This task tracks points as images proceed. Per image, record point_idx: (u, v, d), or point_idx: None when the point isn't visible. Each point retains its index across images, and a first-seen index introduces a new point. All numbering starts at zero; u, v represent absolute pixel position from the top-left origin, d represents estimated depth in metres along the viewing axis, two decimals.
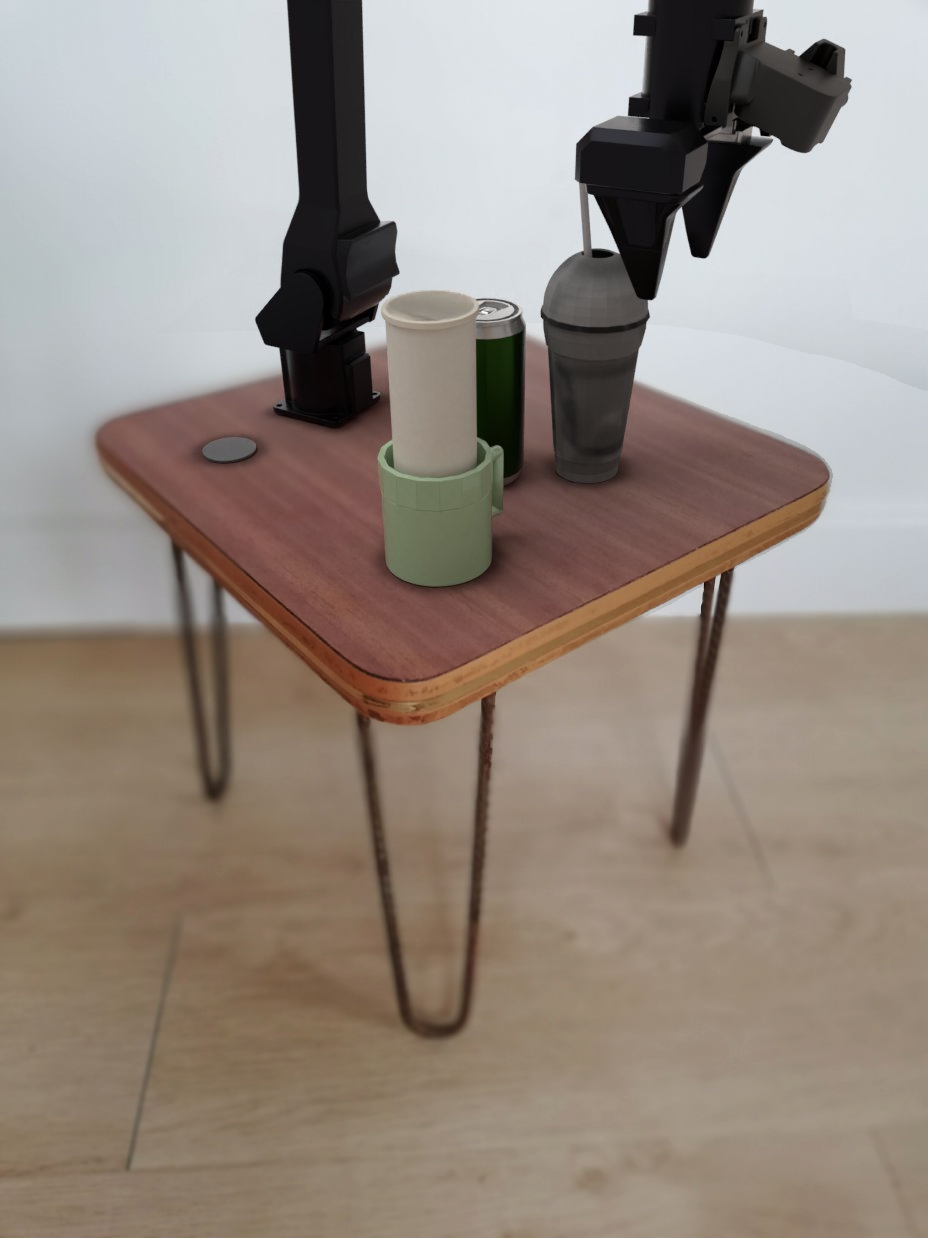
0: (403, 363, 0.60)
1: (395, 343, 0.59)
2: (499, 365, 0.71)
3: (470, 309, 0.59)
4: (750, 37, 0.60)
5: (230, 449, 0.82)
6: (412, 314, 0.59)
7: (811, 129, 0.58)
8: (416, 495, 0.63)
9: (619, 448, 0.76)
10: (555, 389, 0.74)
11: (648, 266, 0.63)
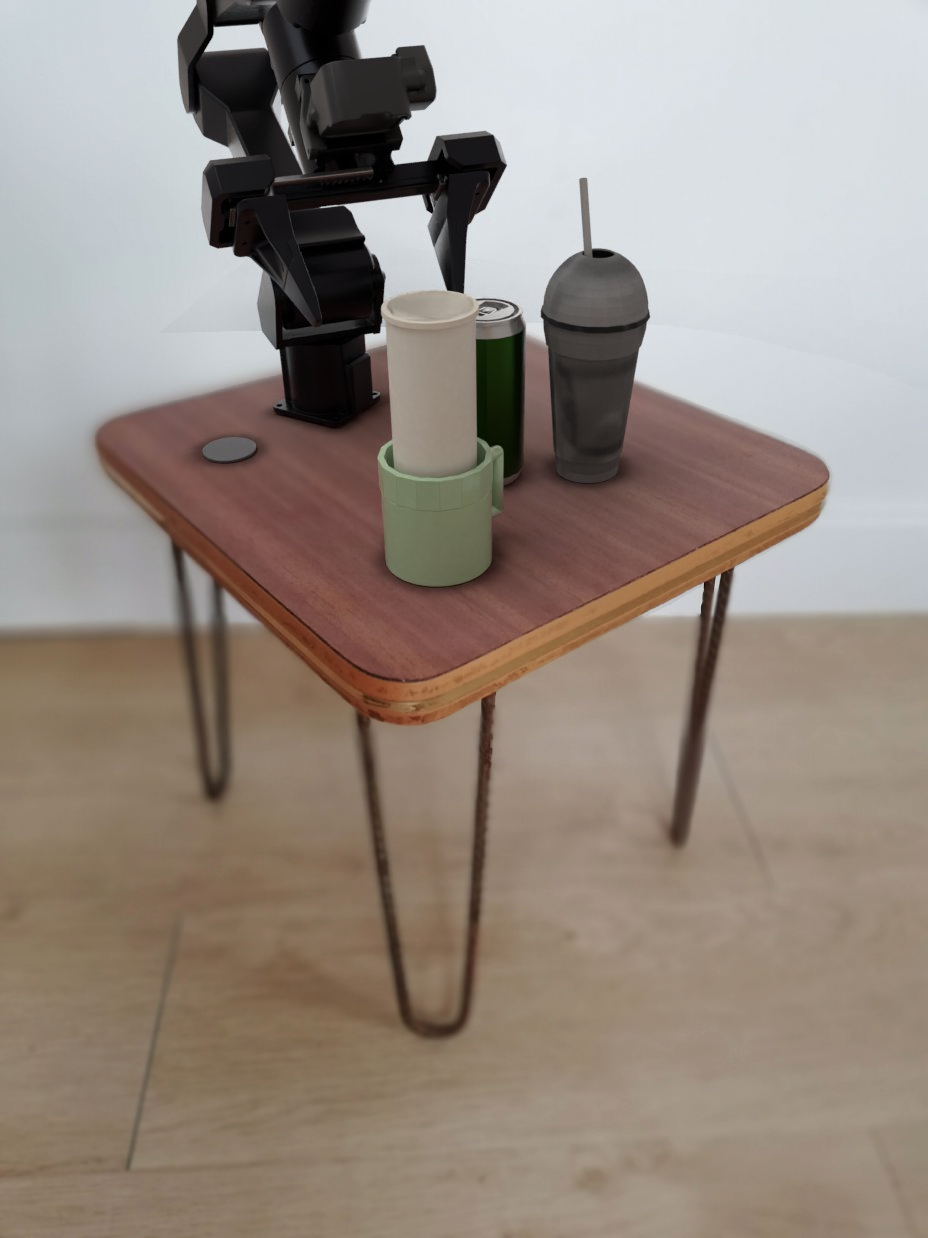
0: (403, 363, 0.60)
1: (395, 343, 0.59)
2: (499, 365, 0.71)
3: (470, 309, 0.59)
4: None
5: (230, 449, 0.82)
6: (412, 314, 0.59)
7: (334, 97, 0.60)
8: (416, 495, 0.63)
9: (619, 448, 0.76)
10: (555, 389, 0.74)
11: (296, 291, 0.66)
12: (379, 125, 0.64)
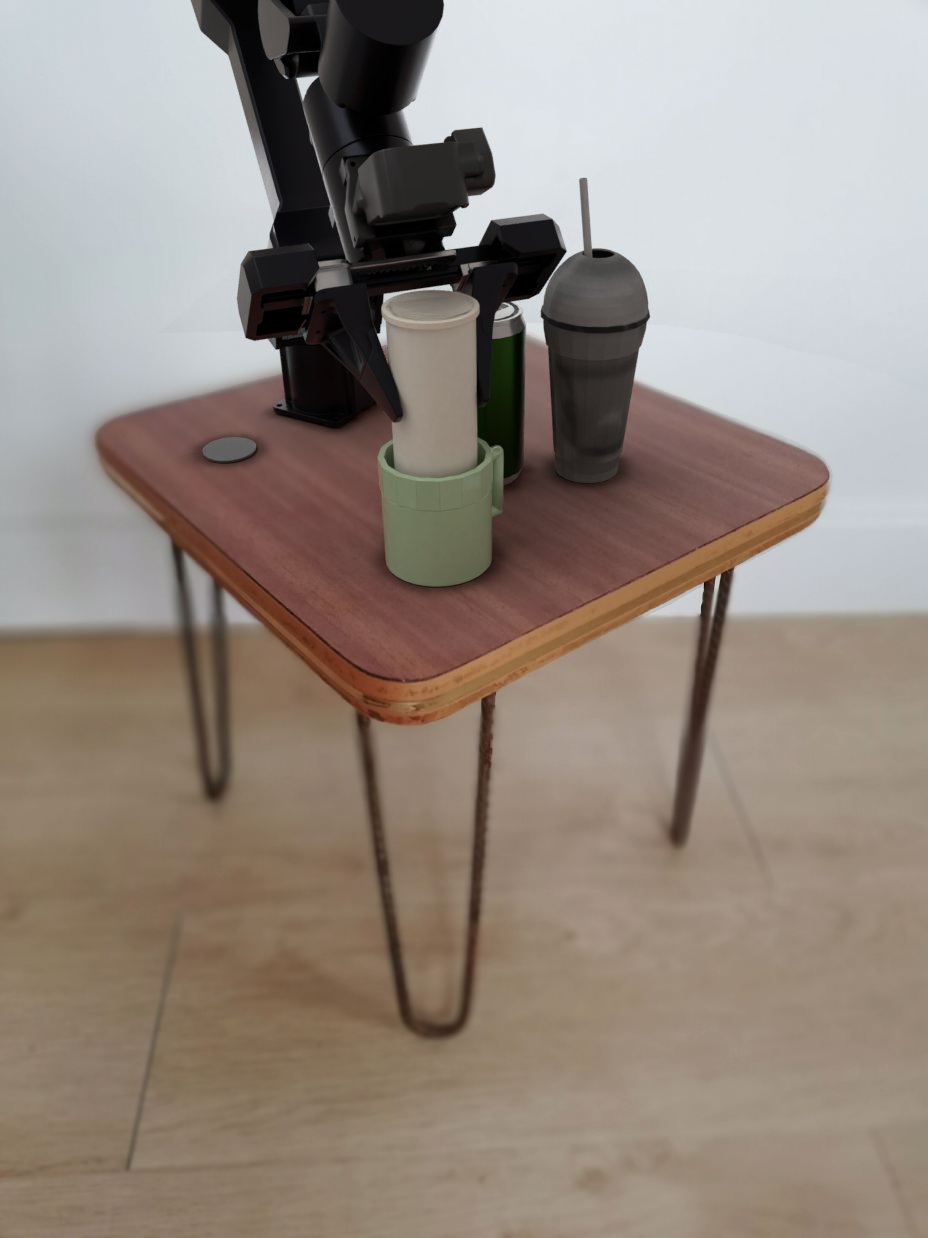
0: (404, 363, 0.60)
1: (396, 342, 0.59)
2: (499, 365, 0.71)
3: (470, 309, 0.59)
4: None
5: (230, 449, 0.82)
6: (413, 314, 0.59)
7: (386, 187, 0.55)
8: (416, 495, 0.63)
9: (619, 448, 0.76)
10: (555, 389, 0.74)
11: (375, 384, 0.61)
12: (432, 212, 0.59)
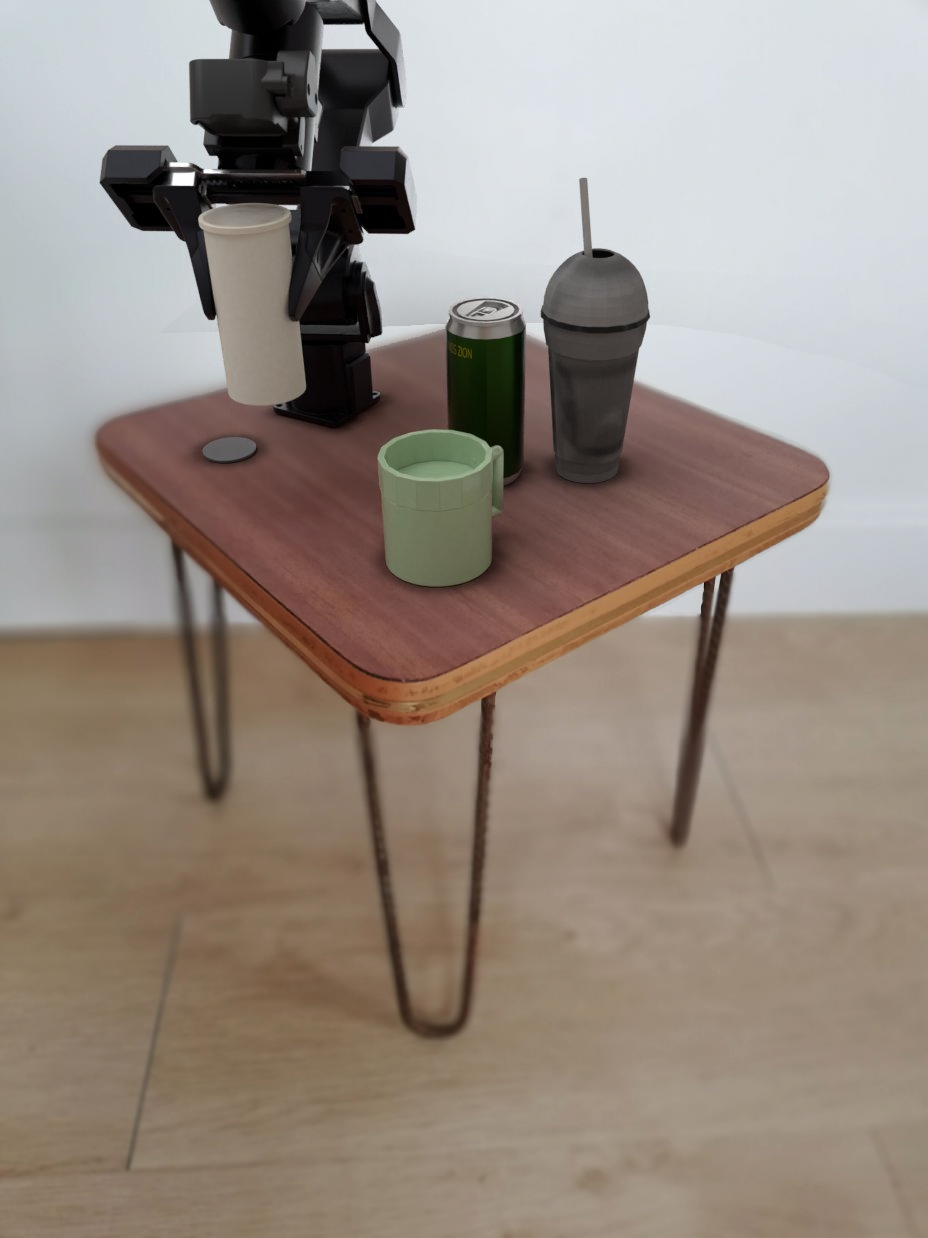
0: (209, 264, 0.65)
1: (205, 243, 0.64)
2: (499, 365, 0.71)
3: (268, 222, 0.63)
4: None
5: (230, 449, 0.82)
6: (217, 219, 0.63)
7: (191, 95, 0.60)
8: (416, 495, 0.63)
9: (619, 448, 0.76)
10: (555, 389, 0.74)
11: None
12: (263, 128, 0.63)
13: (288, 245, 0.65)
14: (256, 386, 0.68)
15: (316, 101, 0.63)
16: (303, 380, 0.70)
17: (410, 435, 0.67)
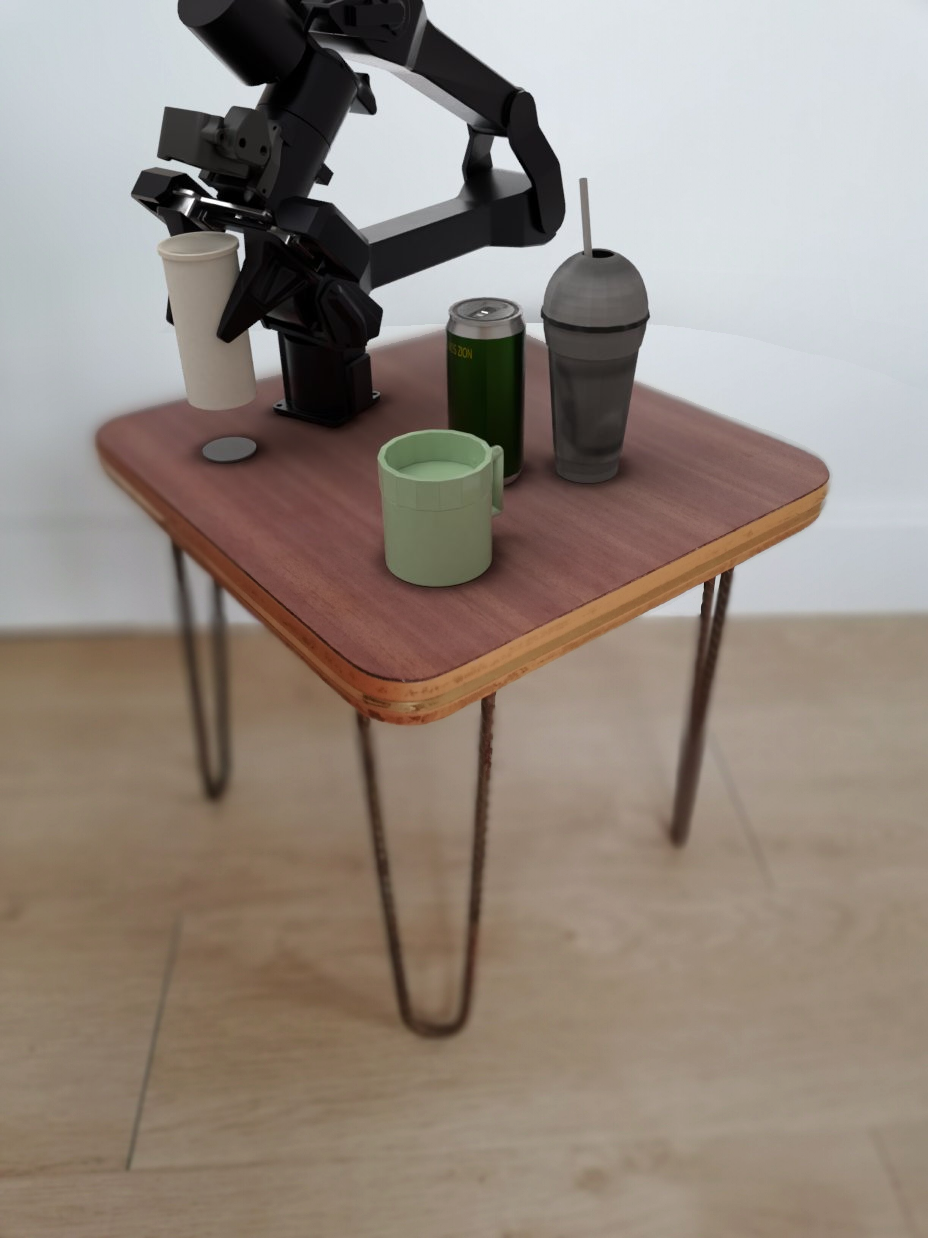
0: None
1: None
2: (499, 365, 0.71)
3: (198, 253, 0.71)
4: None
5: (230, 449, 0.82)
6: (174, 242, 0.73)
7: (160, 136, 0.70)
8: (416, 495, 0.63)
9: (619, 448, 0.76)
10: (555, 389, 0.74)
11: None
12: None
13: (224, 275, 0.72)
14: (194, 390, 0.77)
15: (266, 153, 0.69)
16: (243, 395, 0.77)
17: (410, 435, 0.67)
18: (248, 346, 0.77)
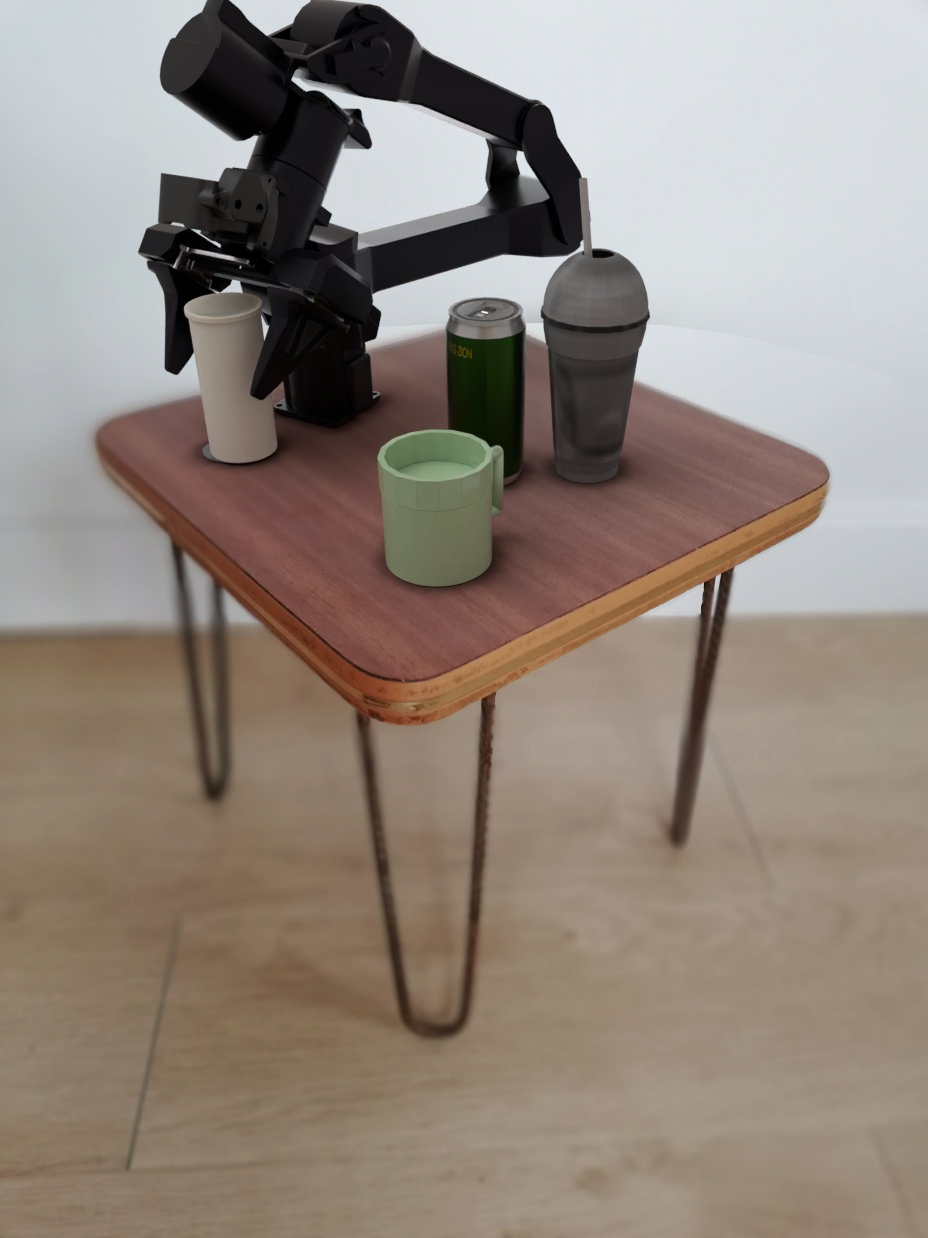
0: None
1: None
2: (499, 365, 0.71)
3: (224, 316, 0.74)
4: None
5: None
6: (200, 304, 0.76)
7: (159, 202, 0.72)
8: (416, 495, 0.63)
9: (619, 448, 0.76)
10: (555, 389, 0.74)
11: None
12: None
13: (248, 336, 0.75)
14: (216, 444, 0.80)
15: (262, 209, 0.71)
16: (264, 448, 0.80)
17: (410, 435, 0.67)
18: (269, 402, 0.79)
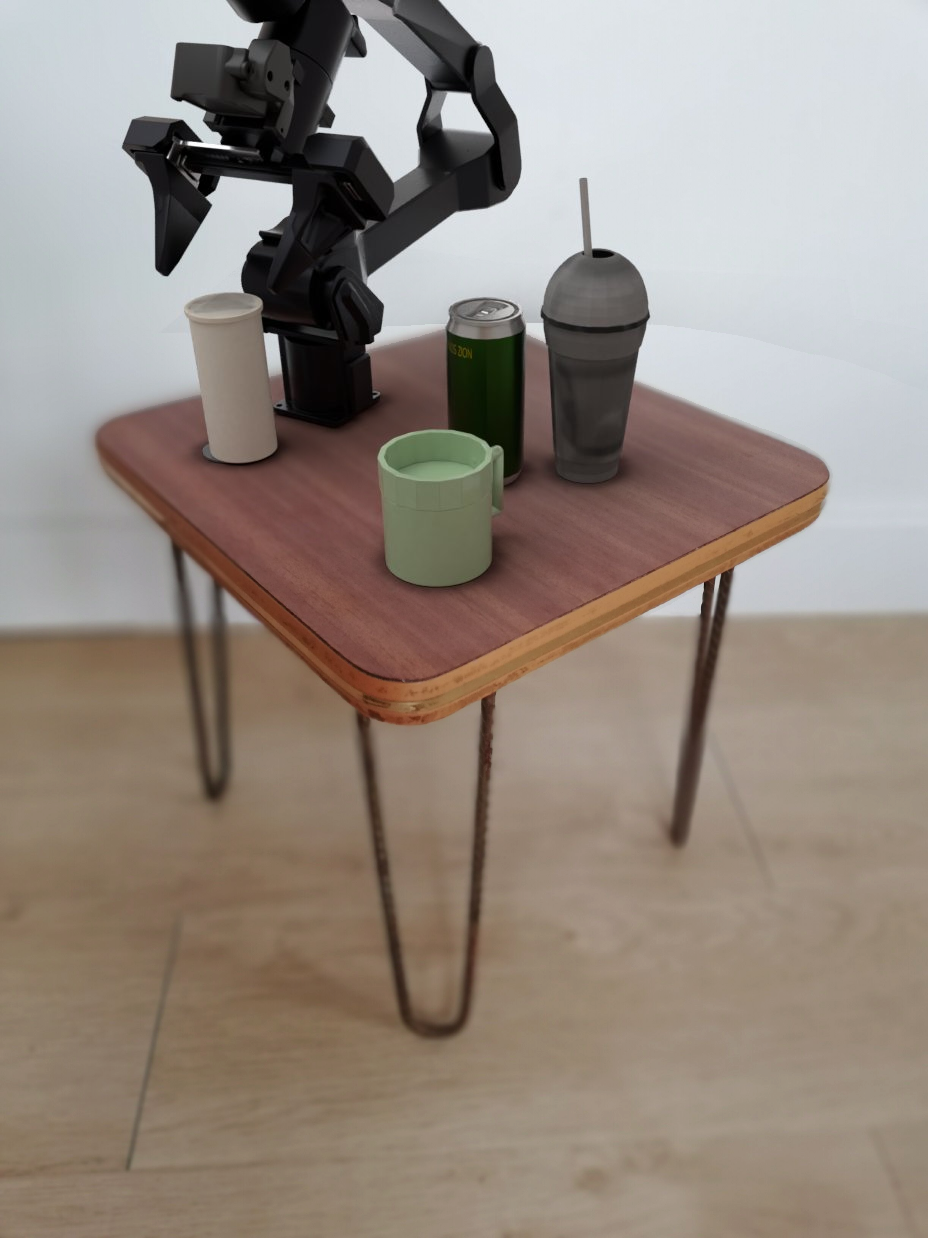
0: None
1: None
2: (499, 365, 0.71)
3: (224, 316, 0.74)
4: None
5: None
6: (200, 304, 0.76)
7: None
8: (416, 495, 0.63)
9: (619, 448, 0.76)
10: (555, 389, 0.74)
11: None
12: (242, 109, 0.69)
13: (248, 336, 0.75)
14: (216, 444, 0.80)
15: (289, 88, 0.67)
16: (264, 448, 0.80)
17: (410, 435, 0.67)
18: (269, 402, 0.79)
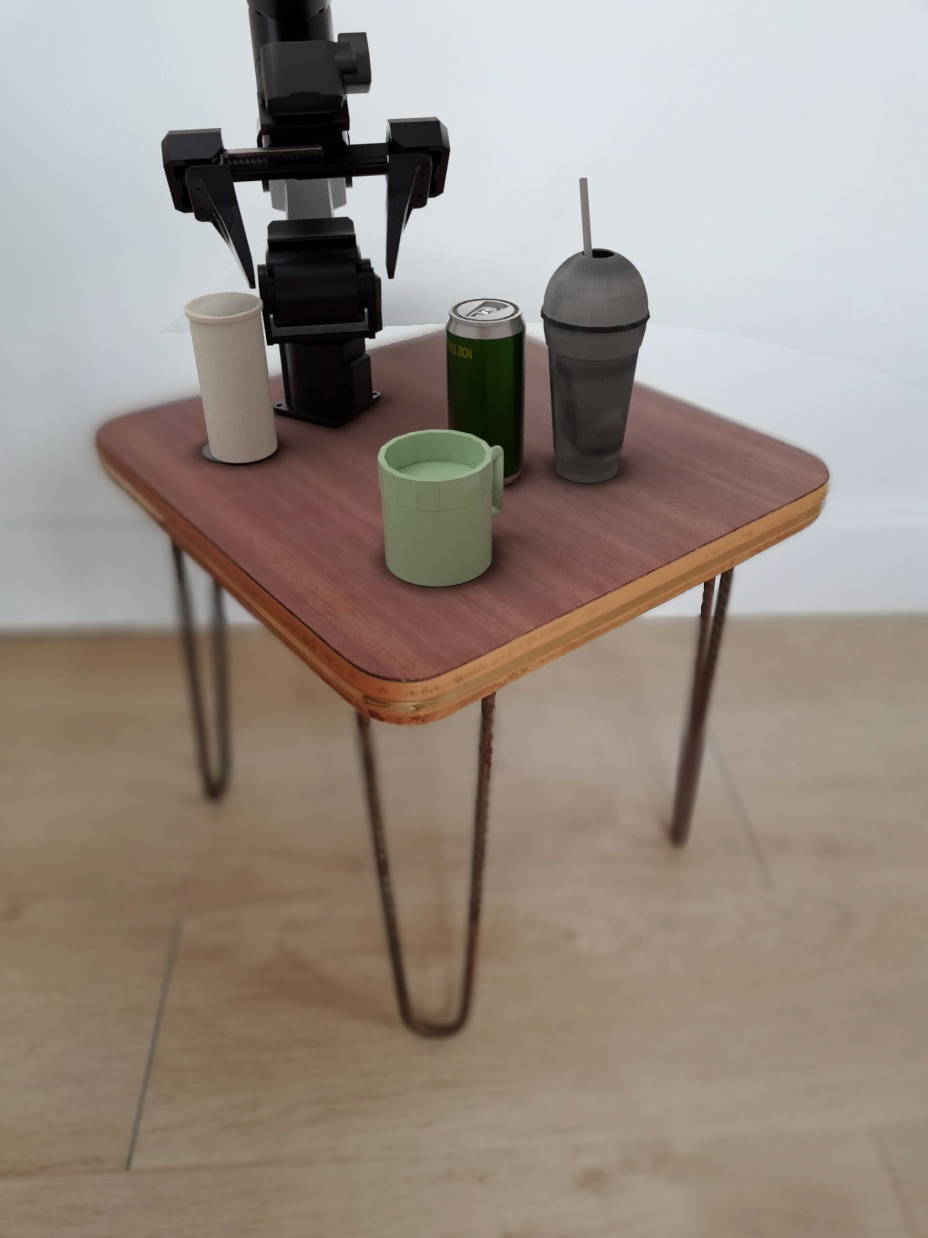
0: None
1: None
2: (499, 365, 0.71)
3: (224, 316, 0.74)
4: None
5: None
6: (200, 304, 0.76)
7: (267, 76, 0.66)
8: (416, 495, 0.63)
9: (619, 448, 0.76)
10: (555, 389, 0.74)
11: (236, 253, 0.71)
12: (322, 105, 0.69)
13: (248, 336, 0.75)
14: (216, 444, 0.80)
15: None
16: (264, 448, 0.80)
17: (410, 435, 0.67)
18: (269, 402, 0.79)
